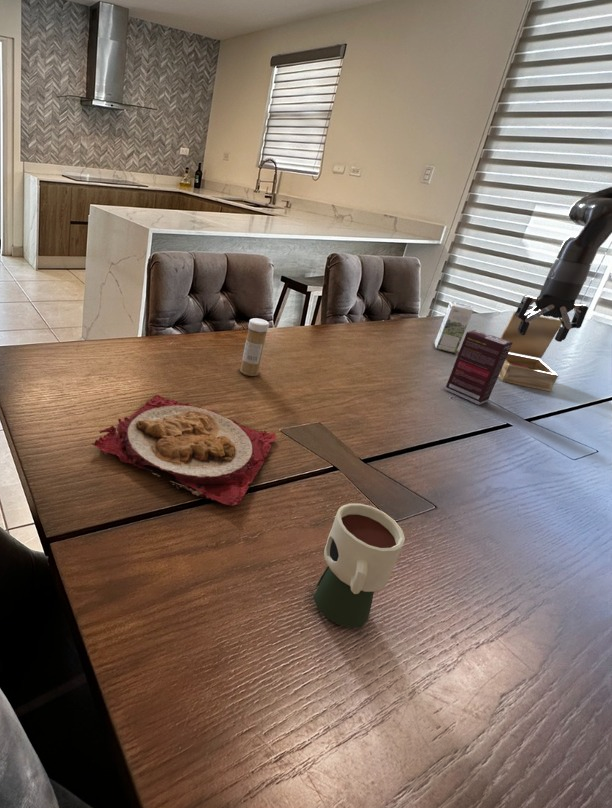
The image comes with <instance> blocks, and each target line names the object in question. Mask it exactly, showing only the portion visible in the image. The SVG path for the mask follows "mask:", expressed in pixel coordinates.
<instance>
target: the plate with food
mask: <svg viewBox="0 0 612 808" xmlns="http://www.w3.org/2000/svg"><path fill="white" fill-rule="evenodd" d="M123 420H124V421H123ZM123 420H122V418H118V419H117V421H118V424H117V427H115V426H114V425H111V426H110V427H107V428H104V429H102V430H100V431H99V433H100V434H103V433H106V434H105V435H104V436H99V438H98V439H95V441H94V443H93V442H91V444H92V445H93V446H94V447H95V448H97V449H98V450H101V451H102V452H103V454H105V455H106V454H112V455H115V456H118V457H119V460H120V462H121V463H122V462H123V463H124V464H131V465H133V466H134V467H137V468H139V469H142V470H145V471H148V472H151V473H152V475H153V476H157V477H158V478H159V477H161V475H160V474H158V473H155V470H153V469H150V468H148V467H147V466H151V467H154V468H157V469H159V470H161V471H166V472H167V473H169V474H170V475H173V476H174V477H175V479H174V480H175V481H177V482H175V481H172V480H169V482H170V483H172V486H175V485H176V488H177V489H178V490H179V489H180V488H184V489H185V490H187V491H189V493H191V494H192V495H194V496H196V497H200V498H203V497H204V498H205V499H206V500H209V499H210V500H211V501H212V502H213V501H216V502H217V503H221V504H223V505H226V506H230V507H233V506H236V505H238V506H240V505H241V502H242V500H243V499H244V496H245V495H246V493H247V491H248V490H249V488H250V487H249V484H252V482H253V481H254V479H256V478H255V477H256V475H257V474H259V471H260V470H261V468H262V466H263V464H264V463H265V460H266V459H267V456H268V454H269V452H270V450H271V448H272V445H273V444H270V443H272V442H274V441H275V440H276V438H277V434H276V433H275V432H271V433H270V432H269V433H268V432H267V431H266V430H260V431H257V430H255V429H252V428H249V427H246V426H244V425H241V424H240V423H239V422H237V421H236V420H234V419H231V418H228V417H224V416H223V415H221V414H220V413H219V412H217V411H215V410H214V409H206V408H203V407H201V406H193V405H191V404H189V403H188V402H186V403H181V402H178V401H177V400H176V401H175V399H169V398H164V397H162V396H160V395H158V394H156V395H155V396H153V397H152V398H151V399H150V400H148V401H146V403H145V405H143V406H142V407H141V408H140V409H138V410H136V411H134V413H133V414H132V415H131V416H129V417H127V416H125V417H124V418H123ZM117 432H118V433H117Z"/></svg>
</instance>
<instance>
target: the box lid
mask: <svg viewBox="0 0 612 808" xmlns="http://www.w3.org/2000/svg"><path fill="white" fill-rule="evenodd" d="M515 313H516V311H513V313H512V315H511V316H510V318H509V320H508V323H507V325H506V327H505V328H504V330H503V332H502V334H501V336H500V338H501V339H504V340H507V341H510V342H513V343H512V346H511V348H510V351H509V353H512V354H517V355H522V356H527V357H532V358H537V359H542V358H543V356H544V355H545V353H546V351H547V350H548V348H549V346H550V345H551V343H552V341H553V339H555V337H556V335H557V332H558V330H559V328H560V326H562V324H561V321H560V319H559V318H554V317H547V316H543V315H541V316H539V317H537V318H534V319H533V320H531V321H529V323H530V324H529V327H528V329H527V331H526V334H525V335H520V334H519V331H518V327H519V325H520V322H521V319H520V318H518V317H517V316H516V315H515Z"/></svg>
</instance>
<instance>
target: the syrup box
mask: <svg viewBox="0 0 612 808" xmlns="http://www.w3.org/2000/svg"><path fill="white" fill-rule="evenodd" d="M473 313H474V310H473V307H472V305H470V304H465V303H462V302H461V303H460V302H456V301H451V300H450V301H449V302H448V306H447V308H446V311H445V314H444V316H443V319H442V321H441V324H440V327H439V329H438V332H437V335H436V337H435V340H434V347H435V349H436V350H440V351H444V352H448V353H452V354H457V351H458V350H459V347H460V344H461V342H462V339H463V337H464V335H465V332H466V330H467V327H468V325H469V322H470V320H471V317H472V315H473Z"/></svg>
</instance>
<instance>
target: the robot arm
mask: <svg viewBox="0 0 612 808" xmlns="http://www.w3.org/2000/svg"><path fill="white" fill-rule="evenodd" d="M568 218H569V220H570V221H571V223H572V224H575V225H577V226H580V227H583V228H582V229H581V230H580V231H579V233H578V234H577V235H570V236H568V237H565V239H564V240H563V243H562V244H561V246H560V249H559V251H558V254H557V255H556V258H555V260H554V262H553V264H552V265H551V266H550V269H549V271H548V273H547V276H546V277H545V280H544V283H543V285H542V288H541V290H540V293H539V295H538V296H537V297H534V296H530V295H529V294H525V295H524V296H522V299H521V301H520V302H519V305H518V306H517V309H516V311H515V312H516V313H515V315H516V316H517V317H518V318H520V319H521V322H520V325H519V327H518V331H519V334H520V335H525V334H526V331H527V329H528V327H529V324H530V323H529V321H531V320H533V319H534V318H537V317H539V316H542V317H548V318H553V319H559V320H560V321H561V326H560V328H559V329H558V331H557V333H556V334H555V336H554V340H555V341H556V342H559V343H562V342H563V341H565V339H566V338H567V336H568V334H569V332H570V330H571V329H580V328H581V327H582V325H583V322H584V320H585V317H586V315H587V312H588V311H589V306H587V305H586V304H584V303H579V304H577V303H576V301H577V299H578V297H579V295H580V293H581V291H582V289H583V286H584V285H585V283H586V281H587V279H588V276H589V274H590V270H591V267H592V264H593V262H594V261H595V258H596V257H597V254H598V251H599V249H600V248H601V246H602V245H603V244H604V243H605V242H606V241H607V240H608V238H609V237H610V236H611V235H612V186H610V187H606V188H604V189H600V190H597V191H594V192H592V193H591V192H590V193H589V194H586V195H584V196H583V197H581V198H579V199H578V200H576V201H575V202H574V203H573V204H572V205H571V207H570V209H569V211H568ZM534 303H535V306H534V307H532V308H531V309H529V308H530V306H532V305H533V304H534ZM528 309H529V311H528ZM572 310H573V312H574V314H573V316H572V320H571V319H570V316H569V312H572ZM527 311H528V312H527Z"/></svg>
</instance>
